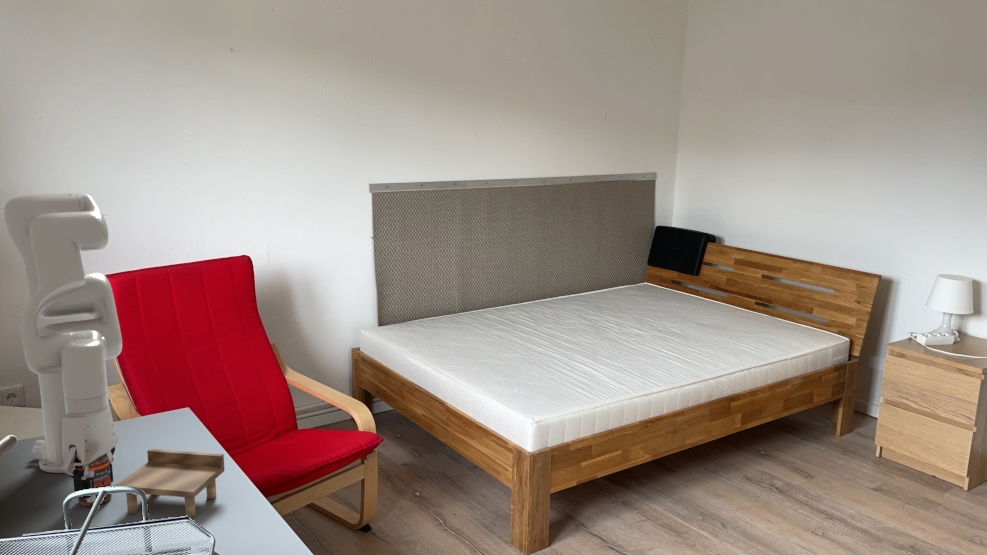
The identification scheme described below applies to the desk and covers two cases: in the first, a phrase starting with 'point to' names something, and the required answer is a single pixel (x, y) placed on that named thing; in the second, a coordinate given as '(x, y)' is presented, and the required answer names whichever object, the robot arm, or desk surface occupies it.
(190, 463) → the peg shelf
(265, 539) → the desk surface
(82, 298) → the robot arm
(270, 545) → the desk surface
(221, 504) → the desk surface
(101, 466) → the supplement bottle
